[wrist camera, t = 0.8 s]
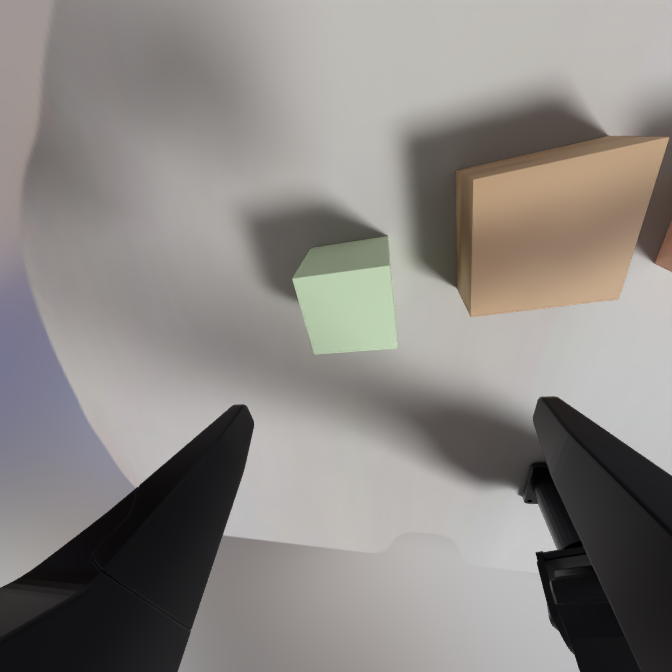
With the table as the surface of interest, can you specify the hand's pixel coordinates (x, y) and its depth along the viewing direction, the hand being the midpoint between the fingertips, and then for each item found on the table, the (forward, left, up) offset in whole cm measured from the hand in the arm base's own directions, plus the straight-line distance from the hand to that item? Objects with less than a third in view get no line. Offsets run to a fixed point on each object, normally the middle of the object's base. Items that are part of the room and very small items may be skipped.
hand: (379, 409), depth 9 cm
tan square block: (+1, -8, -13) cm, 15 cm away
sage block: (-1, +2, -13) cm, 13 cm away
